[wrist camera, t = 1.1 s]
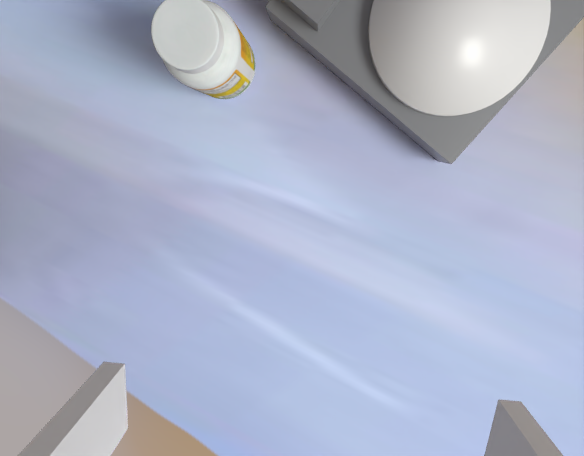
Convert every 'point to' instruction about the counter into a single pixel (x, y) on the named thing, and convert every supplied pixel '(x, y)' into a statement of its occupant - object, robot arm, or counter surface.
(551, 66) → the counter surface
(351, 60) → the scale
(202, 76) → the supplement bottle
